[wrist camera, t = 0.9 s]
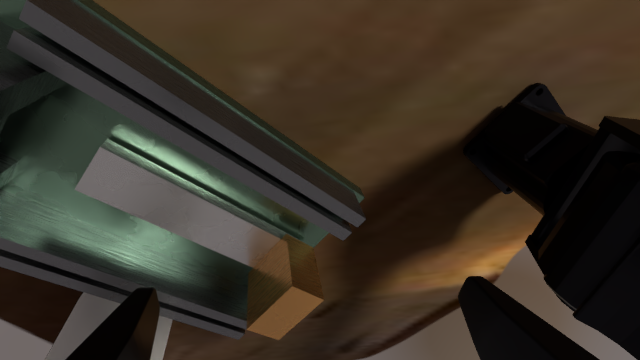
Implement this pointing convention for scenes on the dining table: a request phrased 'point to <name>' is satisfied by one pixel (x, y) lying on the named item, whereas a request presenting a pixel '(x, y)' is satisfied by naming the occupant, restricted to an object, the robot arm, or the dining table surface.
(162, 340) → the cylindrical container
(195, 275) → the green plate fixture
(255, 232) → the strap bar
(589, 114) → the dining table surface
